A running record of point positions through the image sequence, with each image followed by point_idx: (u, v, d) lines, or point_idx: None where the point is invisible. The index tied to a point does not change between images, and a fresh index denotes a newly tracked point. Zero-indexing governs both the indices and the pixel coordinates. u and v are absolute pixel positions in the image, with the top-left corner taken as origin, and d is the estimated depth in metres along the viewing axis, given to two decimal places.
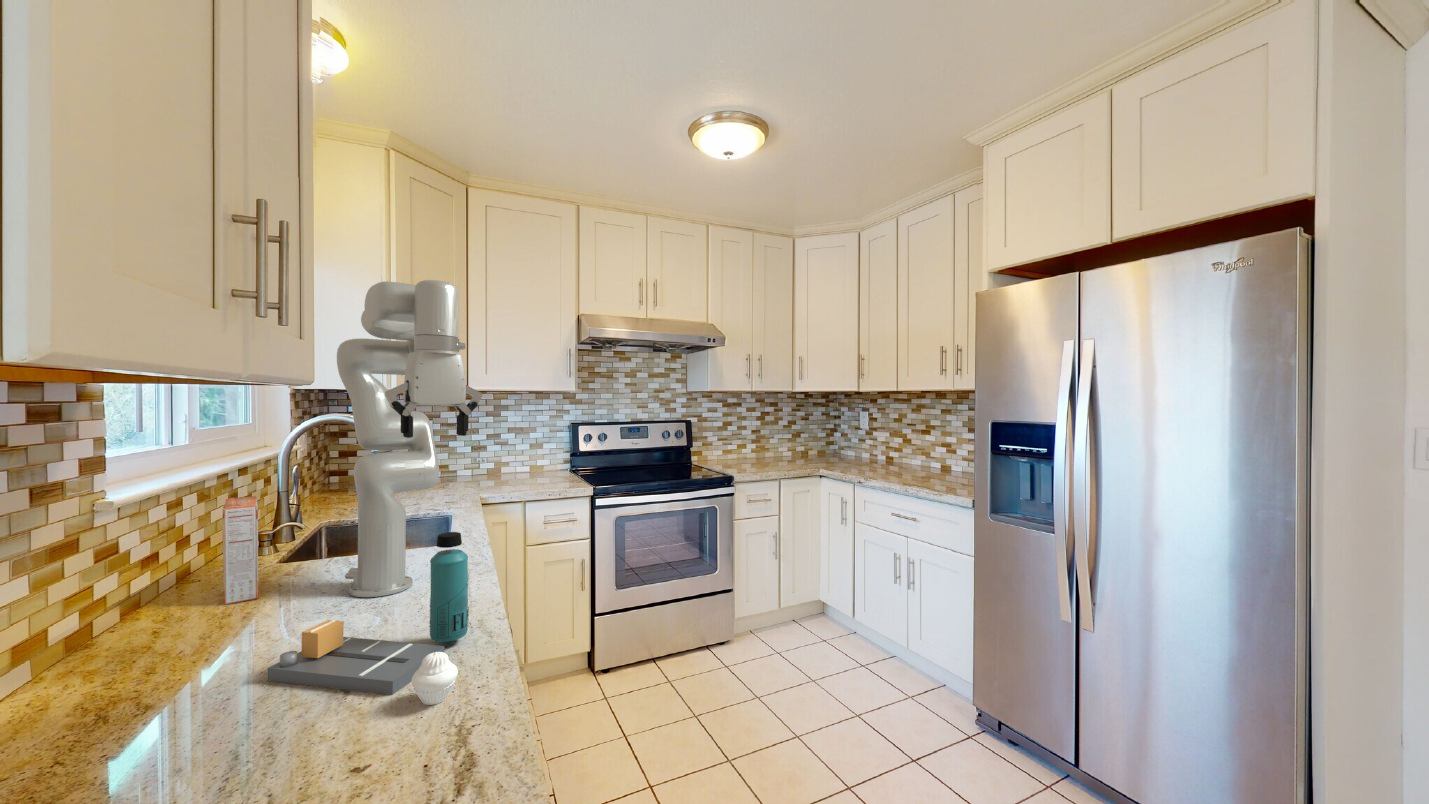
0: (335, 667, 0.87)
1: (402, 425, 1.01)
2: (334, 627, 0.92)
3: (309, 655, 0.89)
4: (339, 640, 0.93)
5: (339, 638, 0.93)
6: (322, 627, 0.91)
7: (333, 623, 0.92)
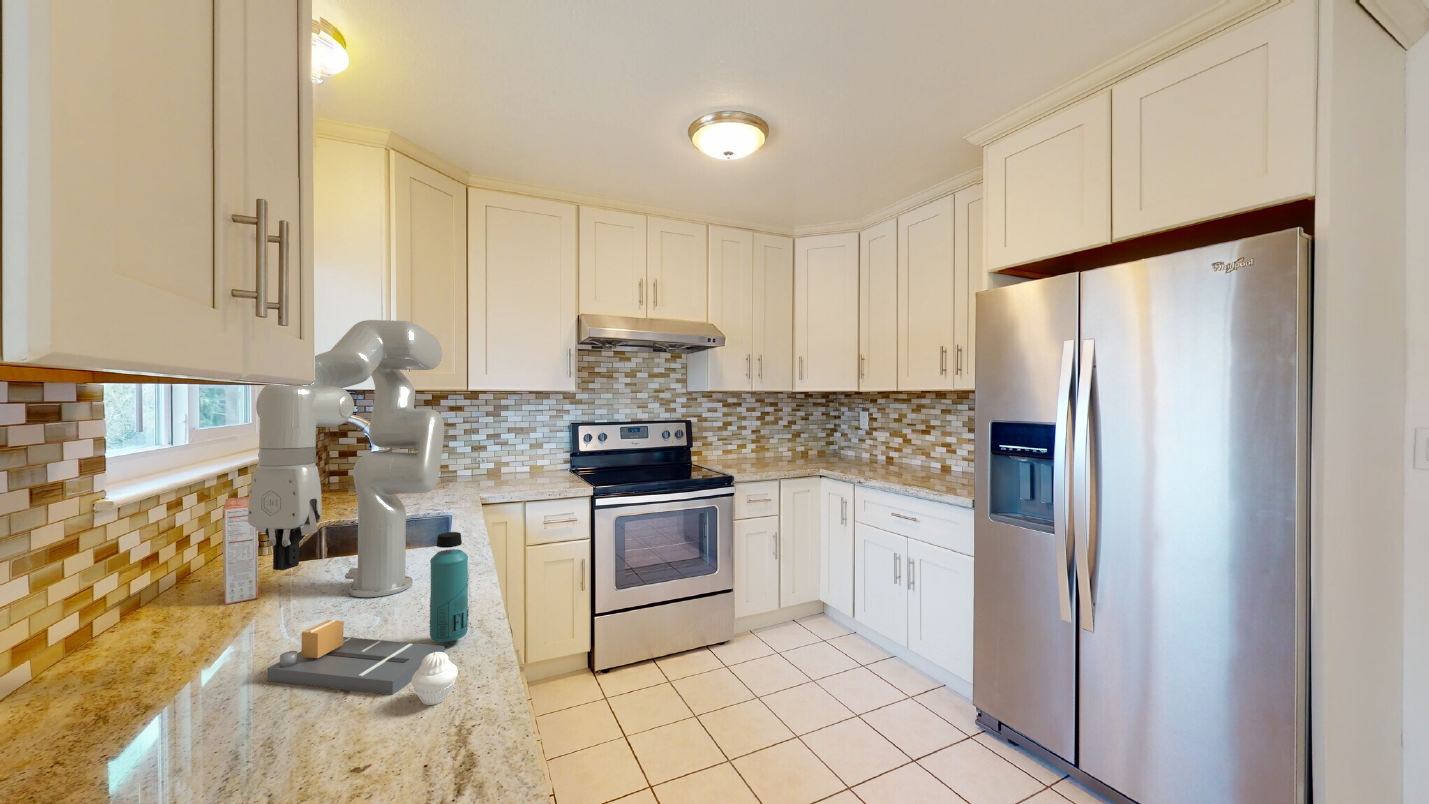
0: (335, 667, 0.87)
1: (295, 554, 0.92)
2: (334, 627, 0.92)
3: (309, 655, 0.89)
4: (339, 640, 0.93)
5: (339, 638, 0.93)
6: (322, 627, 0.91)
7: (333, 623, 0.92)
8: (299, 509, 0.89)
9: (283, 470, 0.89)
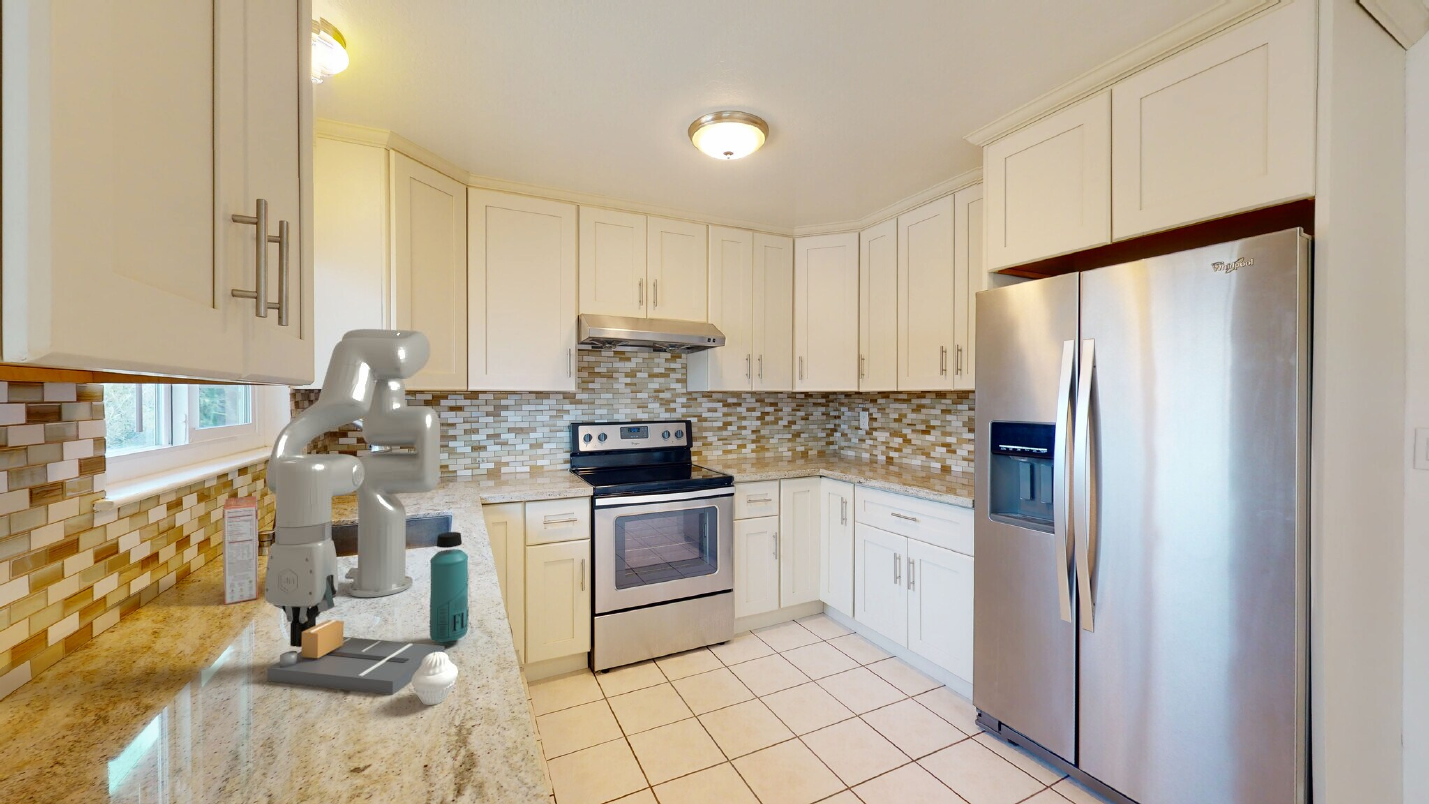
0: (335, 667, 0.87)
1: None
2: (334, 627, 0.92)
3: (309, 655, 0.89)
4: (339, 640, 0.93)
5: (339, 638, 0.93)
6: (322, 627, 0.91)
7: (333, 623, 0.92)
8: (316, 587, 0.89)
9: (300, 548, 0.89)
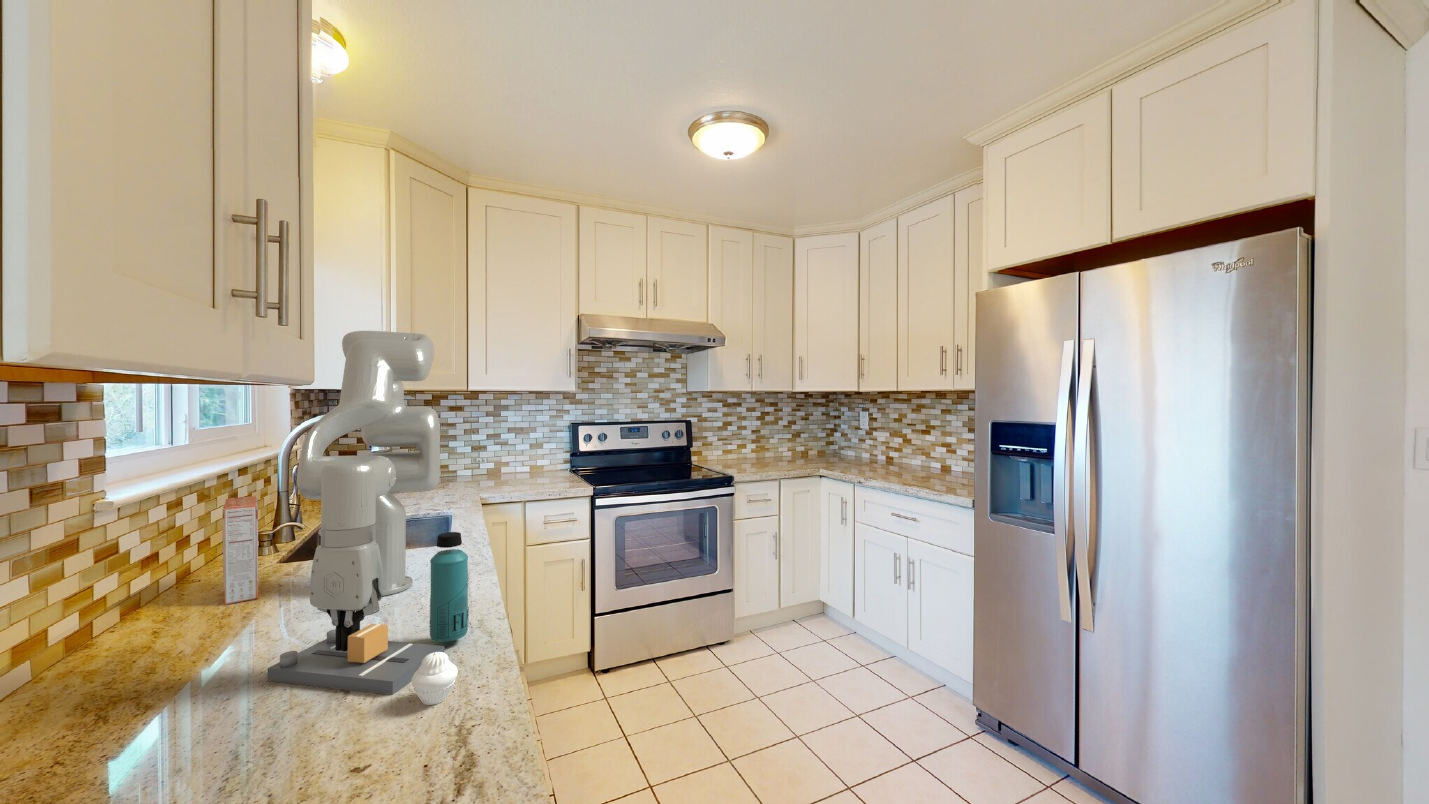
0: (335, 667, 0.87)
1: None
2: (379, 631, 0.90)
3: (355, 660, 0.87)
4: (384, 644, 0.91)
5: (384, 642, 0.91)
6: (367, 631, 0.89)
7: (378, 627, 0.91)
8: (362, 591, 0.87)
9: (346, 551, 0.88)
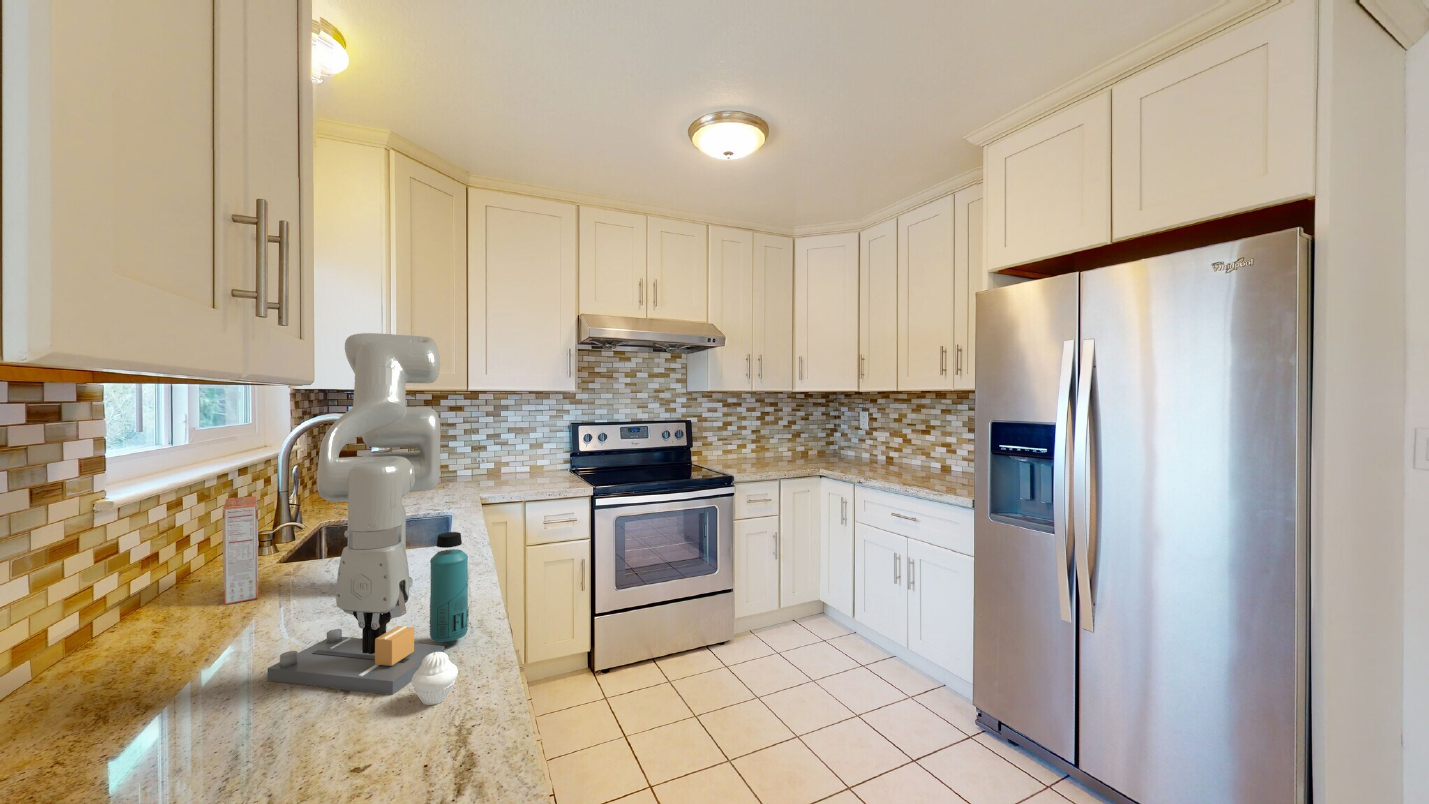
0: (335, 667, 0.87)
1: None
2: (406, 634, 0.90)
3: (383, 662, 0.87)
4: (410, 647, 0.91)
5: (410, 645, 0.91)
6: (394, 634, 0.89)
7: (404, 629, 0.90)
8: (390, 593, 0.86)
9: (373, 553, 0.87)
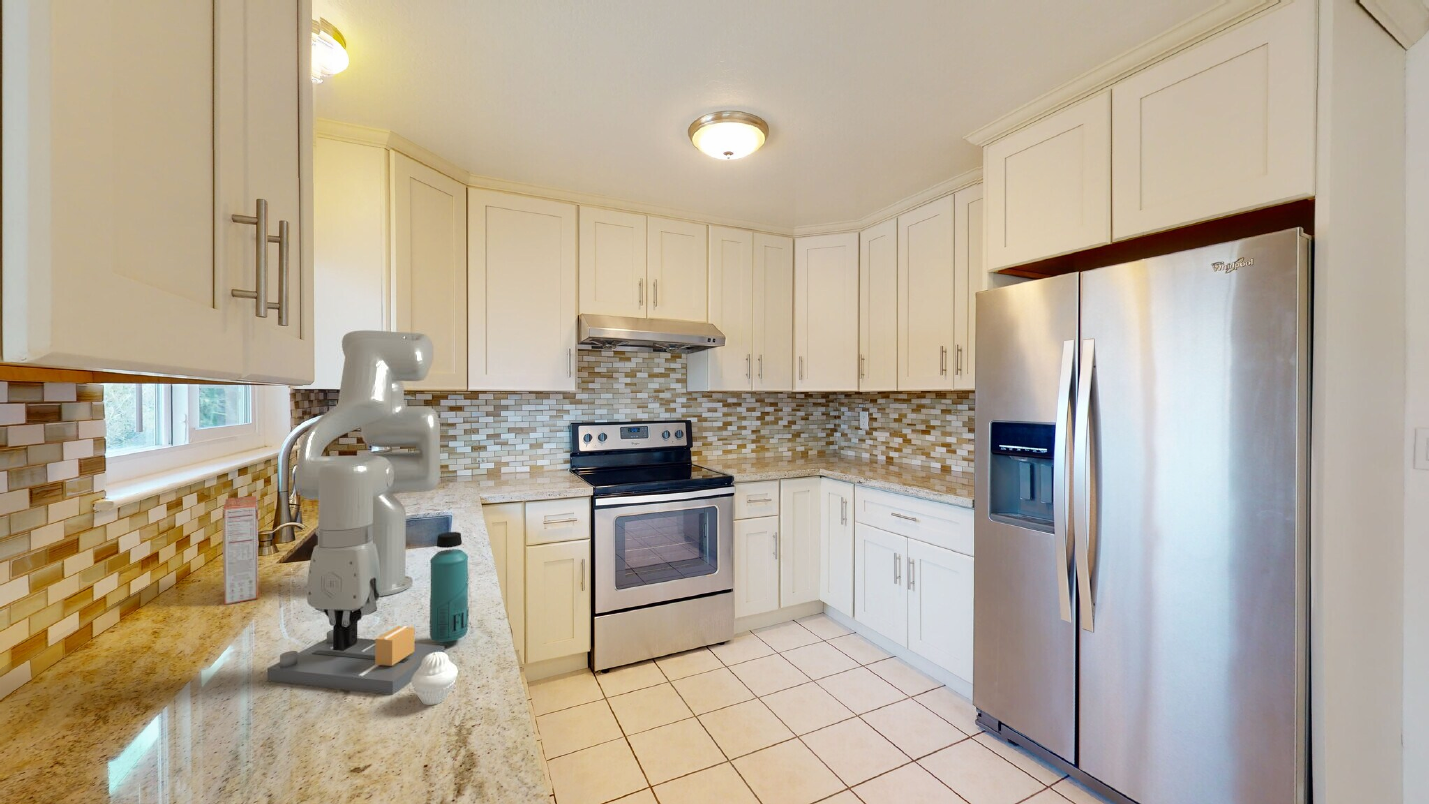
0: (335, 667, 0.87)
1: (354, 633, 0.91)
2: (406, 634, 0.90)
3: (383, 662, 0.87)
4: (411, 647, 0.91)
5: (411, 645, 0.91)
6: (395, 634, 0.89)
7: (405, 629, 0.90)
8: (360, 591, 0.88)
9: (343, 551, 0.88)
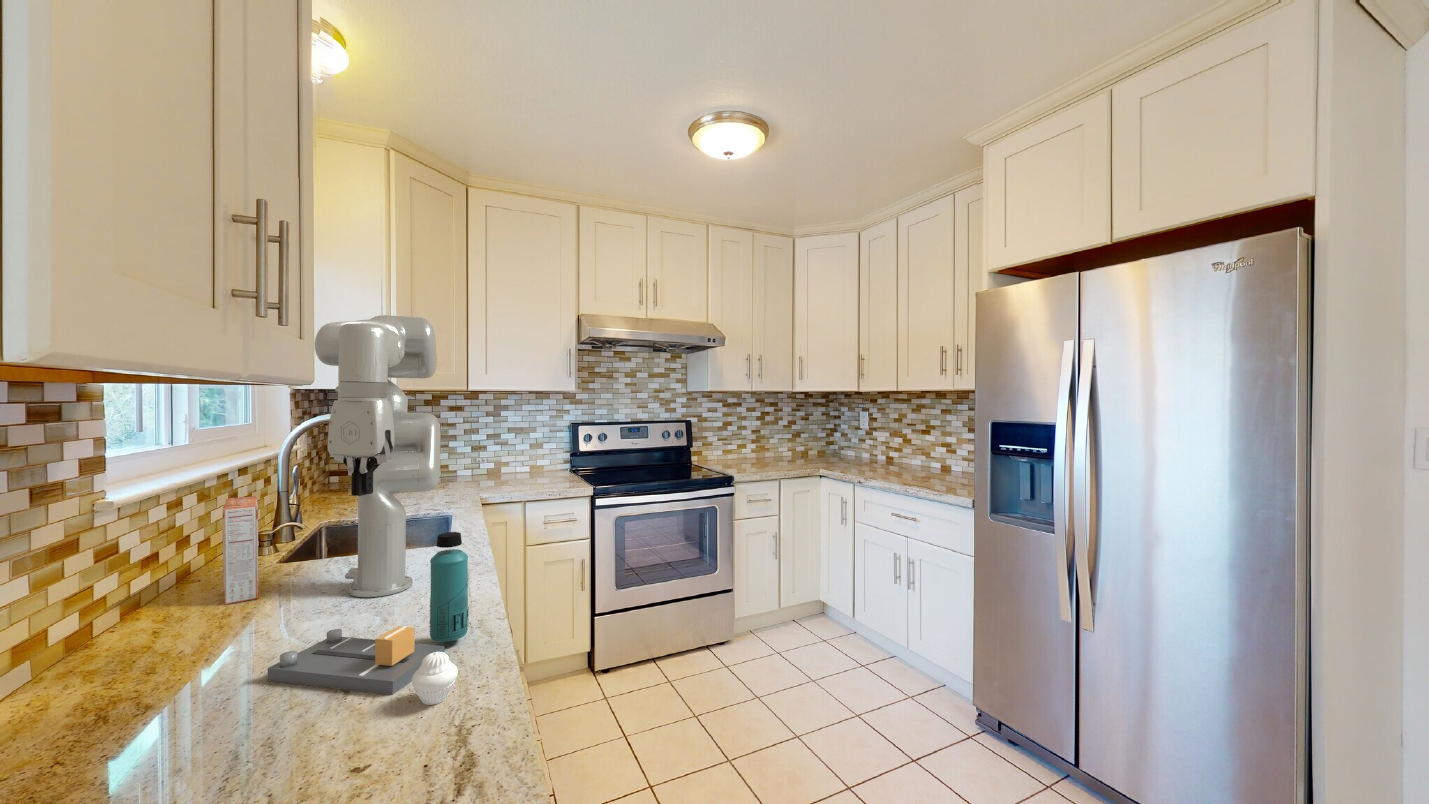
0: (335, 667, 0.87)
1: (370, 482, 0.99)
2: (406, 634, 0.90)
3: (383, 662, 0.87)
4: (411, 647, 0.91)
5: (411, 645, 0.91)
6: (395, 634, 0.89)
7: (405, 629, 0.90)
8: (376, 438, 0.96)
9: (361, 402, 0.96)
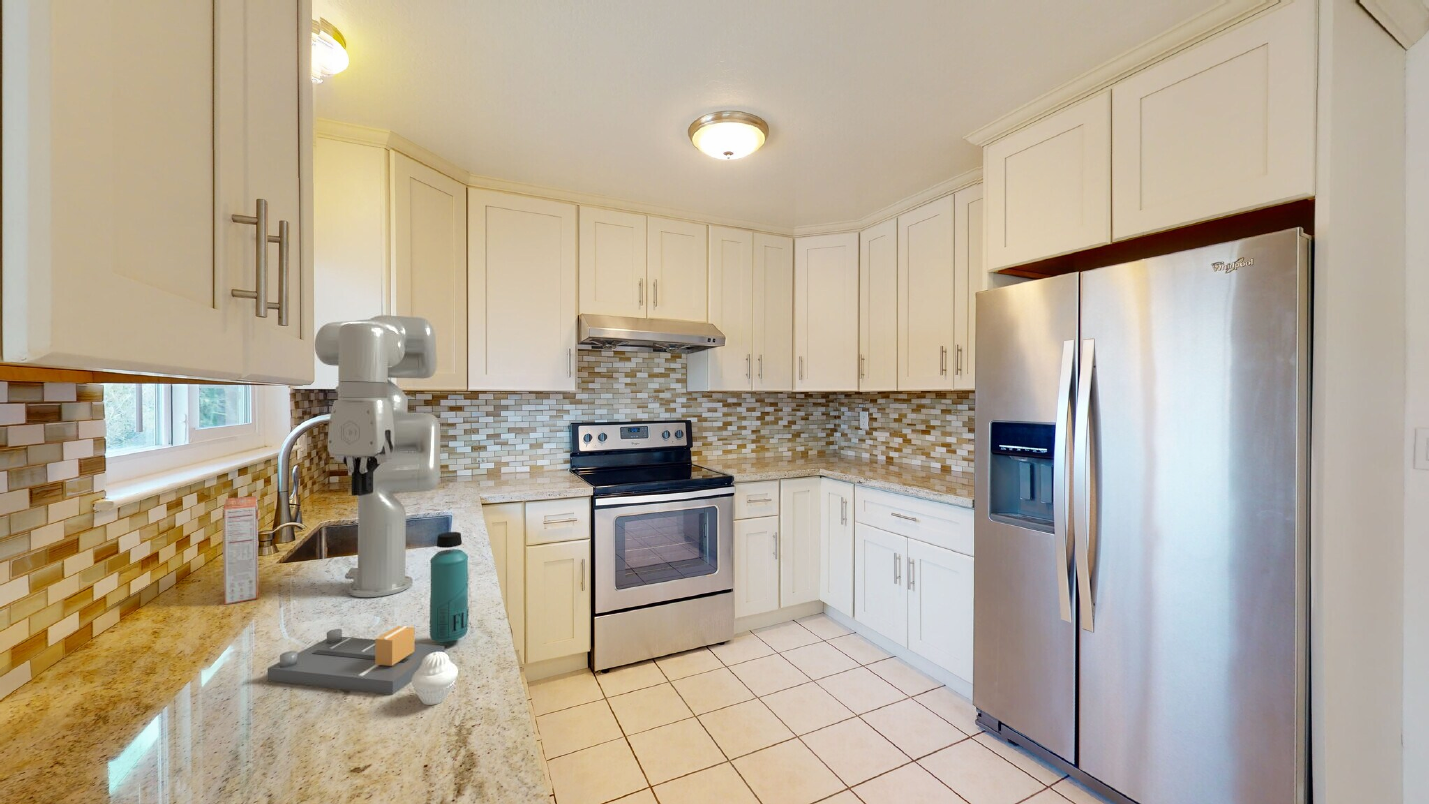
0: (335, 667, 0.87)
1: (370, 482, 0.99)
2: (406, 634, 0.90)
3: (383, 662, 0.87)
4: (411, 647, 0.91)
5: (411, 645, 0.91)
6: (395, 634, 0.89)
7: (405, 629, 0.90)
8: (376, 438, 0.96)
9: (361, 402, 0.96)
